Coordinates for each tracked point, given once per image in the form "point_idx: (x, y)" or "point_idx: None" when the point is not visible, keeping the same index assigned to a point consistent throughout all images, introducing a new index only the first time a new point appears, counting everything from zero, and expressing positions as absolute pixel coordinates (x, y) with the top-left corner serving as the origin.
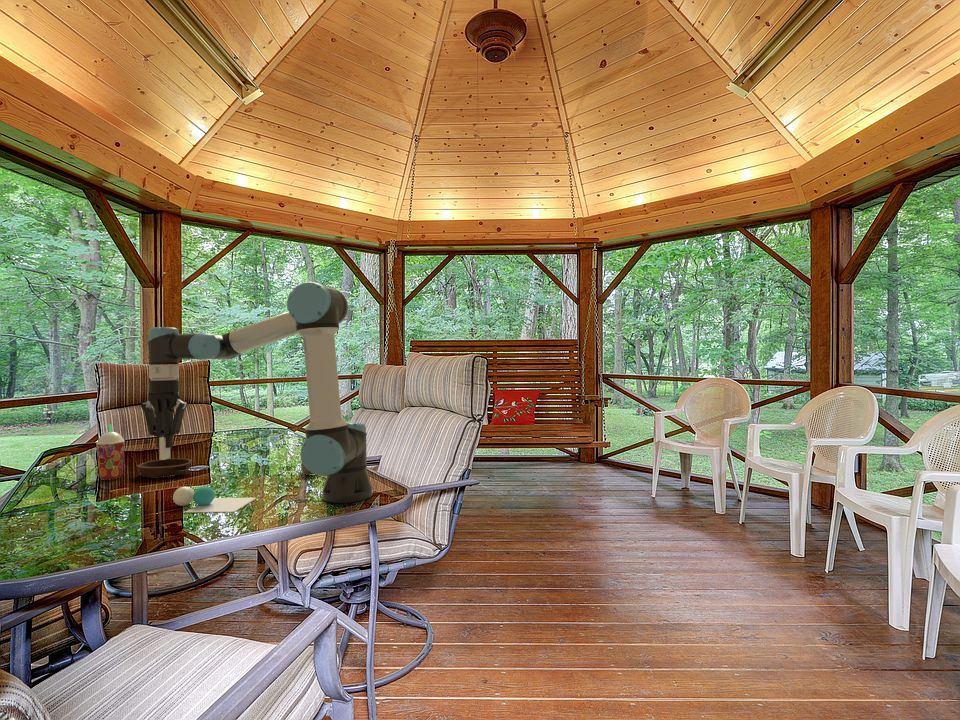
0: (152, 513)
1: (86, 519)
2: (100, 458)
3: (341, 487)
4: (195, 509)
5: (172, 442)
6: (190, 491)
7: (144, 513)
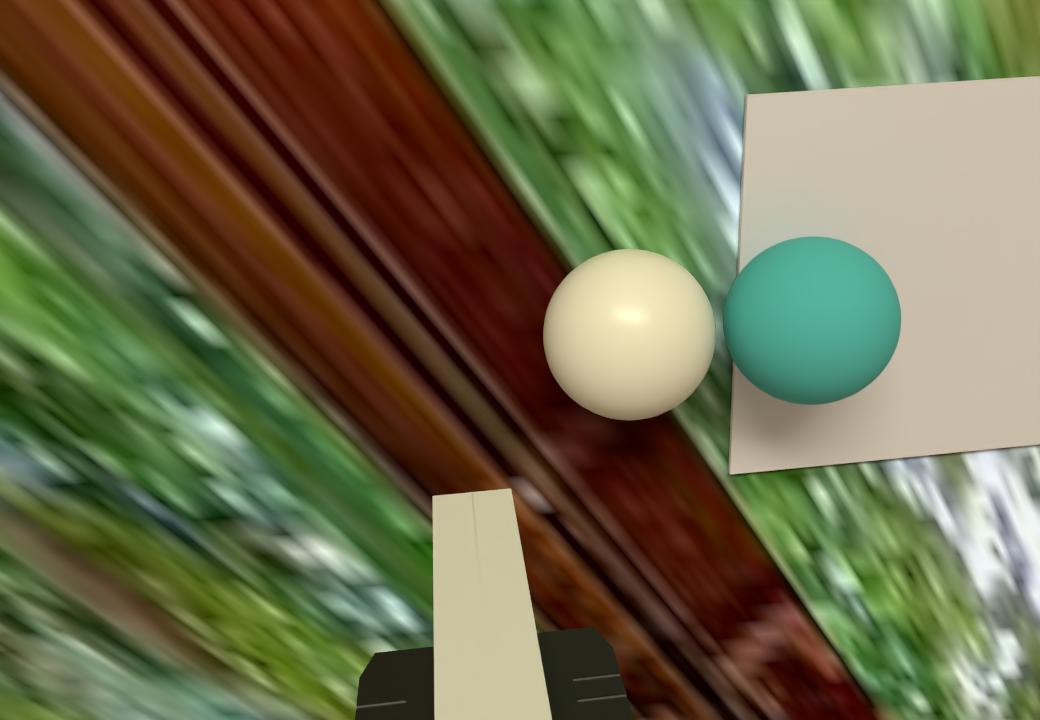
0: None
1: (128, 645)
2: None
3: None
4: (777, 419)
5: (626, 697)
6: (710, 359)
7: None
